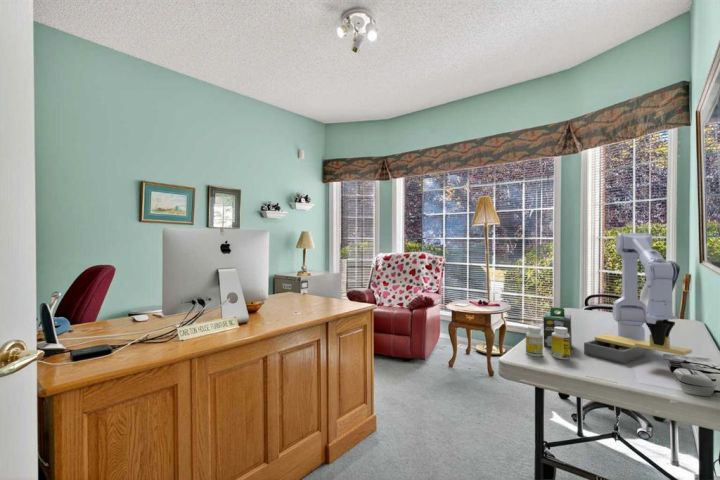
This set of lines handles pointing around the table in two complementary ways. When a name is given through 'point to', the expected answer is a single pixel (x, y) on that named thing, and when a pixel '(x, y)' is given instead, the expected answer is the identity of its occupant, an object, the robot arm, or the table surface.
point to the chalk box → (555, 325)
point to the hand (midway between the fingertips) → (660, 344)
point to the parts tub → (614, 348)
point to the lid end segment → (663, 347)
